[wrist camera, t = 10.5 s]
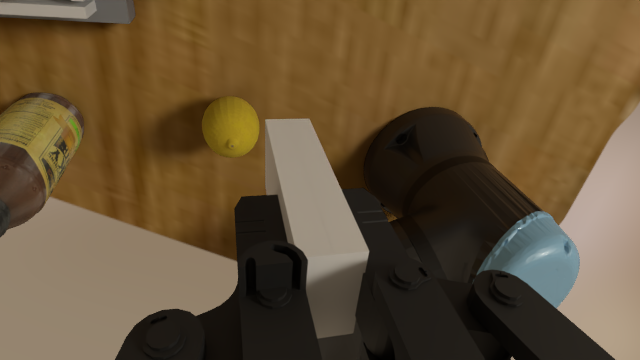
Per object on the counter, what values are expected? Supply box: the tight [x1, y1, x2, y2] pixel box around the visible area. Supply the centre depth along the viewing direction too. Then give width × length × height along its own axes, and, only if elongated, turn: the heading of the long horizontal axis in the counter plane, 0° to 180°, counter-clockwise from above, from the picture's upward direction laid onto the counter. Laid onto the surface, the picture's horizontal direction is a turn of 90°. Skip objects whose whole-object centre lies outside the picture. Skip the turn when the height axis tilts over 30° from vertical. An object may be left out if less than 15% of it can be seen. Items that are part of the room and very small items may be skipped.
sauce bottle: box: [0, 93, 84, 237], centre depth 30 cm, size 6×6×20 cm
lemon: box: [202, 96, 259, 158], centre depth 38 cm, size 6×6×8 cm
